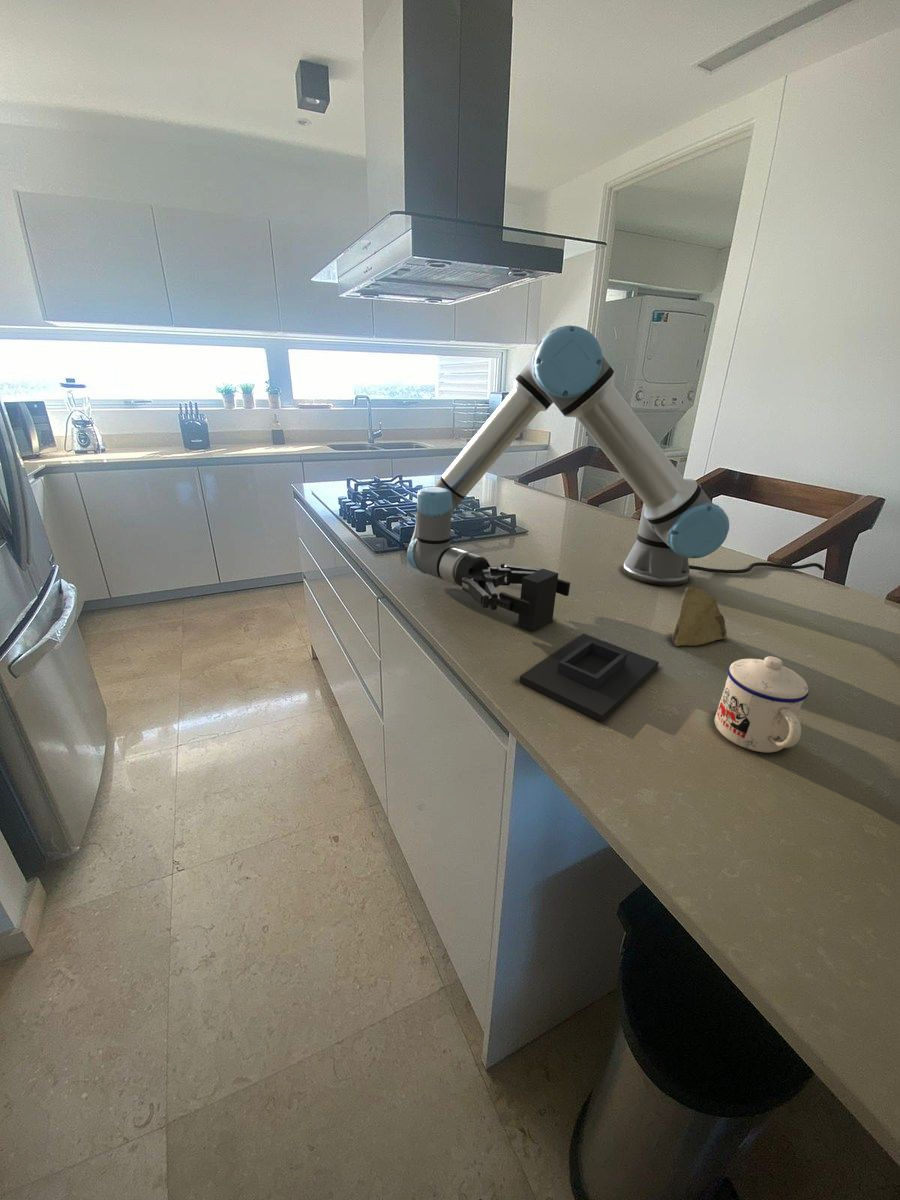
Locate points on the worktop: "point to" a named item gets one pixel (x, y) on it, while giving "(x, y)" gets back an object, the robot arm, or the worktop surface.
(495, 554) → the worktop surface
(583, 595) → the worktop surface
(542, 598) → the black block
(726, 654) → the worktop surface
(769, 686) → the teacup with lid
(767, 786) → the worktop surface
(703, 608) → the rock
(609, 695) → the base pad
